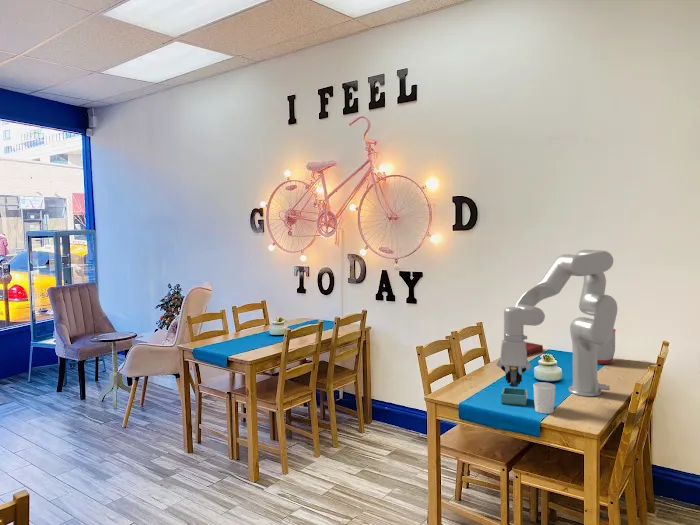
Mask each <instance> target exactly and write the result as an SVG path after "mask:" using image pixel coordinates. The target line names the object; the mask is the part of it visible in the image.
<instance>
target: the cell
mask: <svg viewBox="0 0 700 525" xmlns="http://www.w3.org/2000/svg"><path fill="white" fill-rule="evenodd" d="M518 372H519V369H518V367H513V366H509V383H508V384H509V385H508V386H509V387H511V388H518V387H519V384H518Z"/></svg>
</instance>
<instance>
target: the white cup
mask: <svg viewBox="0 0 700 525" xmlns="http://www.w3.org/2000/svg"><path fill="white" fill-rule="evenodd" d="M532 387H533V388H532V389H533V403H534V410H535V412H537V413H538V414H539V413H540V414H546V415H547V414H548V415H549V414H550V415H551V414H553V413H554V410H555V399H556V397H555V396H556V385H555V384H553V383H550V382H545V381H543V382H542V381H541V382H535V383H533V386H532Z"/></svg>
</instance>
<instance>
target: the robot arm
mask: <svg viewBox="0 0 700 525" xmlns="http://www.w3.org/2000/svg"><path fill="white" fill-rule="evenodd" d="M613 264H614V258H613V255H612V253H610V252H609V251H606V250H600V249H599V250H597V249H596V250H595V249H581V250H579V251H577V253H575V254H568V253H566V254H561V255H559V256H557V257H556V259H555V261H554V262H553V263H552V265H551V266H550V267H549V269H548V270H547V272H546V273H545V275H544V276H543V277H542V279H541V280H540V281H539V282H538V283H536V284H535V285H533V287H531V288H529V289H528V290H526V291H525V292H524V293H523V294H522V295H521V297H520V298H519V299H518V301H517V302H516V303H515V306H508V307H506V308H504V309H503V340H501V347H500V358H499V359H498V361H497V362H496V364H495V366H497V367H498V368H500V369H501V370H502V371H503V372H504V373H505V381H506V382H507V384H509V366H513V367H518V385H520V383H522V382H523V373H525V372H526V371H528V370H530V369H532V365H531V364H530V362H529V360H528V356H527V348H526V342H527V341H525V340H528V335H525V334H524V326H539V325H541V324H542V323H543V322H544V321H545V318H546V317H545V316H546V315H545V313H544V310H542V309H541V308H539V307H537V306H536V305H537V304H538V303H540V302H541V301H543V300H545V299H549V298H552V297H555V296H556V295H558V294H560V292H562V290H563V288H564V287H565V286H566V284H567V282H568V281H569V280H570V279H571V277H572V276H573V277H583V284H582V289H581V294H580V297H579V298H580V299H579V303H578V304H579V305H578V308H579V311H580V312H581V313H583V314H586V315H589V316H593V318H589V317H585V316H584V317H583V316H582V317H576V318H575V319H573V320H572V321H571V323H570V325H569V331H570V332H569V333H570V338H571V342H572V343H571V344H572V385H571V386H569V387H568V391H569V392H570V393H571V394H574V395H575V396H581V397H596V396H600V395H601V394H602V390H603V391H604V390H605V391H610V389H611V388H610V386H611V385H607V384H605V383H602V384H601V383H600V382H599V380H598V364H597V347H596V344H598V345H603V344H606V343H607V342H608V341H609V340H610V338H611V336H612V333H613V329H615V328H614V327H615V323H616V320H617V315H618V305H617V304H618V303H617V301H616V300H615V298H614V297H613V296H612V295H608V294H605V291H606V285H607V279H606V275H605V272H608V271H609V270H610V269H611V268H612V267H613Z"/></svg>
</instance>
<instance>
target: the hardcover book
mask: <svg viewBox="0 0 700 525" xmlns="http://www.w3.org/2000/svg"><path fill="white" fill-rule="evenodd" d="M525 342H526V348H527V355H528V356H530V354H531V355H534V354H539V353H542V352H543V351H544V346H543V344H539V343H534V342H527V341H525Z"/></svg>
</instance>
